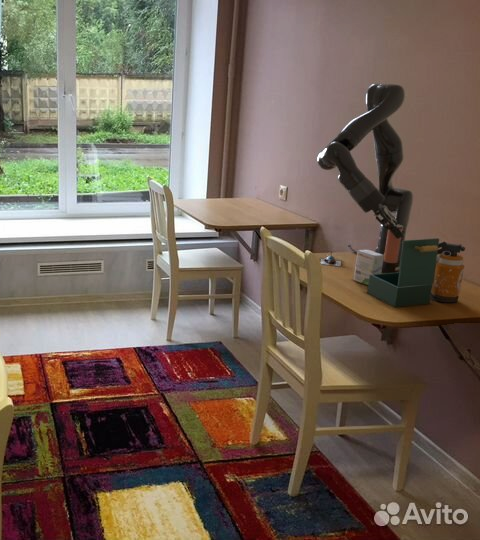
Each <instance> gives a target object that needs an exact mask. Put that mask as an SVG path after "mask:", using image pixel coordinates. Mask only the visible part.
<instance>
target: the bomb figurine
mask: <svg viewBox="0 0 480 540" xmlns="http://www.w3.org/2000/svg"><path fill="white" fill-rule="evenodd" d="M332 254H333V249H330V255H329V254H327V255H326V257H324V258H320V263H321V264H320V265H326V266H328V265H329V266H336V267H341V266H342V260H336V258H335V257H334V256H332Z"/></svg>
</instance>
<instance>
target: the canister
mask: <svg viewBox="0 0 480 540" xmlns="http://www.w3.org/2000/svg"><path fill="white" fill-rule="evenodd" d="M464 251H466V247H465V246H463V245H462V244H459V243H458V244H455V243H448V242H446V241H442V242H439V245H438V253H437V261H436V268H435V276H434V284H432V290H431V296H430V299H432V300H435V301H437V302H441V303H454V302H458V301H459V296H460V291H461V285H462V281H463V276H464V270H465V265H464V260H465V258H464V257H463V255H461V252H464Z"/></svg>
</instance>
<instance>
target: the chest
mask: <svg viewBox="0 0 480 540" xmlns="http://www.w3.org/2000/svg"><path fill="white" fill-rule="evenodd" d="M398 278H399V272H395V273H383V274H371V275H370V277H369V284H368V285H367V292H366V293H368V294H369V295H371V296H373V297H375V298H377V299H379V300H380V301H382V302H384V303H386V304H388V305H390V306H392V307H394V308H399V307H408V306H418V305H430V300H431V297H430V296H431V290H432V284H424V285H413V286H402V287H398Z"/></svg>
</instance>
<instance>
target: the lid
mask: <svg viewBox="0 0 480 540" xmlns="http://www.w3.org/2000/svg"><path fill="white" fill-rule="evenodd" d="M439 244H440V238H438V237H436V238H422V239H405V240H404V241H403V243H402V252H401V260H400V269H399V278H398V287H402V286H413V285H424V284H434V276H435V268H436V261H437V257H438V255H437V253H438V250H439V248H438V245H439Z"/></svg>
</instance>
